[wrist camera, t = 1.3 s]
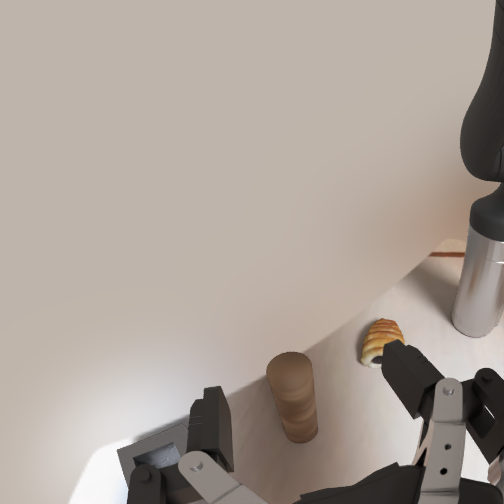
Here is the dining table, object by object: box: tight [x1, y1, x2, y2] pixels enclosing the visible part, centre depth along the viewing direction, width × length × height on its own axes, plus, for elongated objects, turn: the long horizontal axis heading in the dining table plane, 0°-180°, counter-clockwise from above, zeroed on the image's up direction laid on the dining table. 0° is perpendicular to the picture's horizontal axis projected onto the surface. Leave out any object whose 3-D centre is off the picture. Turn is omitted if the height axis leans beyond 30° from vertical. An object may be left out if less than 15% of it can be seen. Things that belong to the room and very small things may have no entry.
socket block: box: [117, 423, 209, 504], centre depth 22 cm, size 10×10×5 cm
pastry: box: [360, 318, 404, 368], centre depth 36 cm, size 9×7×4 cm
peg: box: [266, 352, 318, 443], centre depth 25 cm, size 4×4×14 cm
